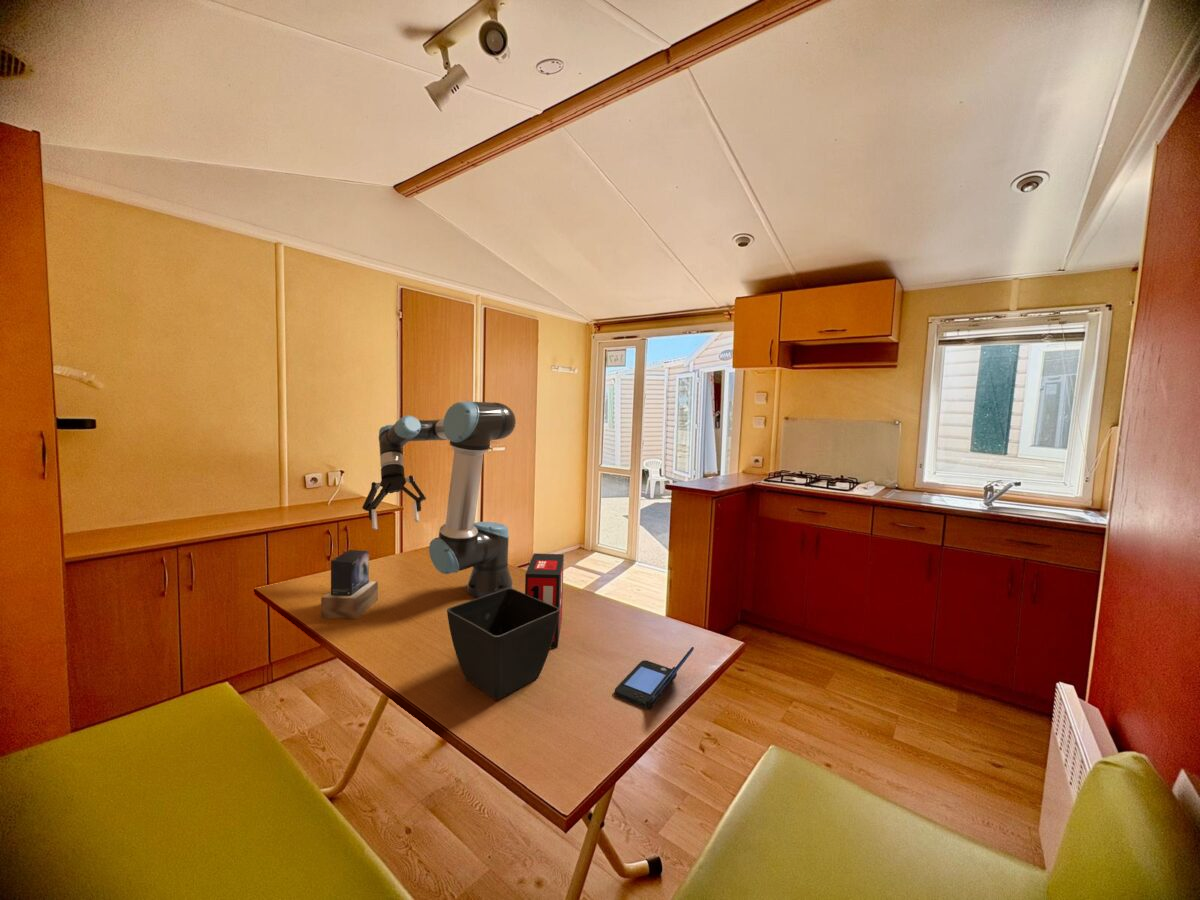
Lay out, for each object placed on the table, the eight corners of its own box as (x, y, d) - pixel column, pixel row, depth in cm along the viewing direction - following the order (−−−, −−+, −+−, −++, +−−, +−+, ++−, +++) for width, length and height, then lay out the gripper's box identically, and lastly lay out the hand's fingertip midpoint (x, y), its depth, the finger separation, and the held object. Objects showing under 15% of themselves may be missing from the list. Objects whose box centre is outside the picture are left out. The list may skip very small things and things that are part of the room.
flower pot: (508, 647, 120) (509, 585, 119) (560, 675, 108) (562, 607, 107) (444, 678, 106) (444, 608, 104) (495, 715, 94) (496, 637, 92)
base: (377, 600, 145) (377, 581, 145) (356, 619, 132) (355, 598, 132) (346, 599, 145) (346, 579, 145) (321, 617, 132) (321, 597, 132)
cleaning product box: (532, 618, 137) (533, 553, 135) (561, 618, 137) (563, 554, 135) (523, 647, 121) (525, 573, 119) (557, 647, 121) (559, 574, 119)
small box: (352, 596, 133) (351, 561, 132) (329, 595, 133) (328, 560, 132) (370, 582, 143) (370, 549, 142) (349, 581, 143) (349, 549, 142)
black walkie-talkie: (642, 664, 115) (644, 629, 114) (693, 682, 108) (695, 645, 107) (612, 696, 102) (613, 657, 101) (667, 719, 95) (670, 677, 94)
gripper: (431, 464, 167) (436, 520, 159) (359, 477, 163) (361, 534, 155) (425, 456, 160) (431, 514, 153) (350, 470, 156) (352, 529, 149)
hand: (396, 524), depth 154 cm, fingers open, 13 cm apart
